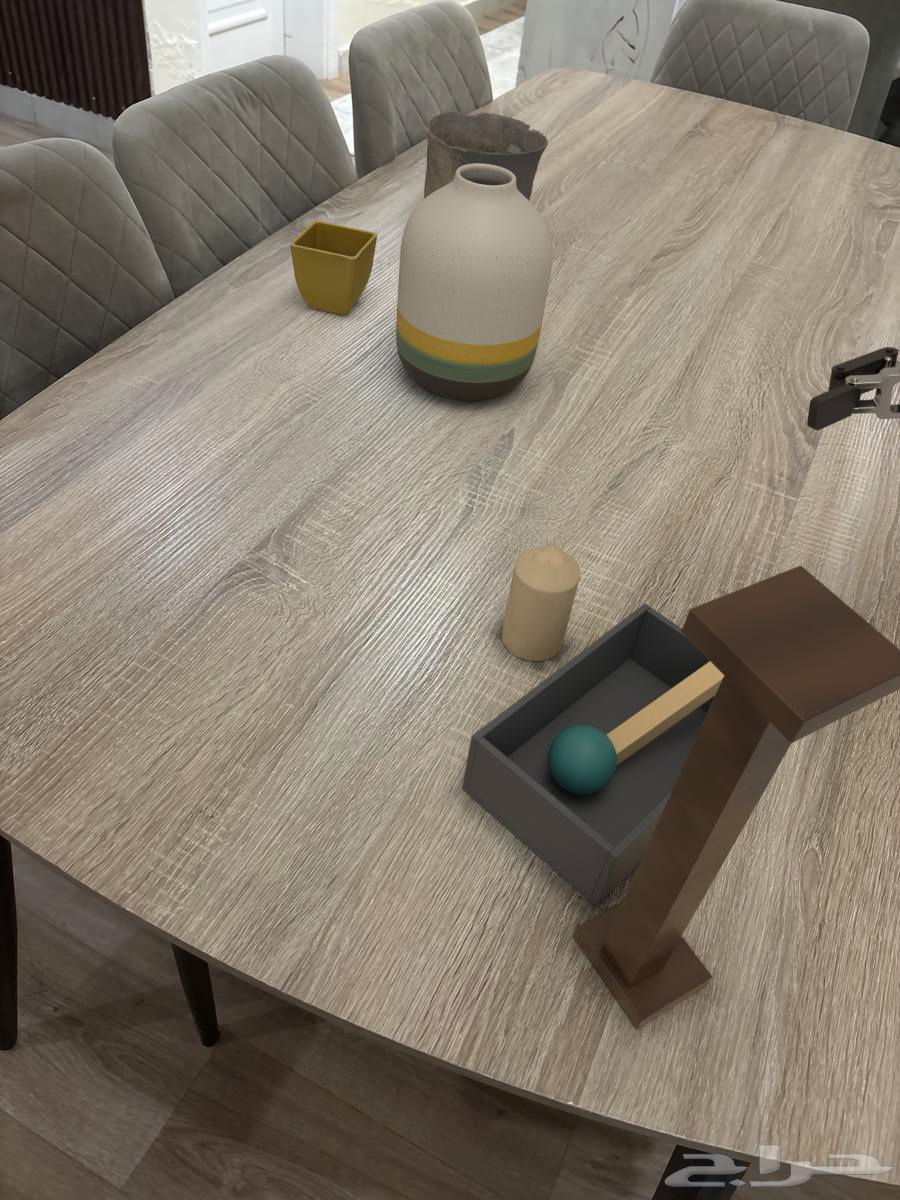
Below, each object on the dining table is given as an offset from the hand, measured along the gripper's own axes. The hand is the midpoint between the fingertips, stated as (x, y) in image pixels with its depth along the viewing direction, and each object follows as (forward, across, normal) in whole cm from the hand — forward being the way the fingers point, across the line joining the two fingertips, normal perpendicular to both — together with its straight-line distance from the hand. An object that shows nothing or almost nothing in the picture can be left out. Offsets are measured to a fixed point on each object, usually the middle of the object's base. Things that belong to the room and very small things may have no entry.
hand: (862, 439), depth 62 cm
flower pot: (+4, -80, +12) cm, 81 cm away
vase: (-2, -58, +17) cm, 61 cm away
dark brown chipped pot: (-26, -93, +13) cm, 98 cm away
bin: (+17, -4, +25) cm, 30 cm away
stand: (+26, +9, +26) cm, 38 cm away
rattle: (+14, -4, +22) cm, 27 cm away
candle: (+15, -18, +22) cm, 33 cm away
